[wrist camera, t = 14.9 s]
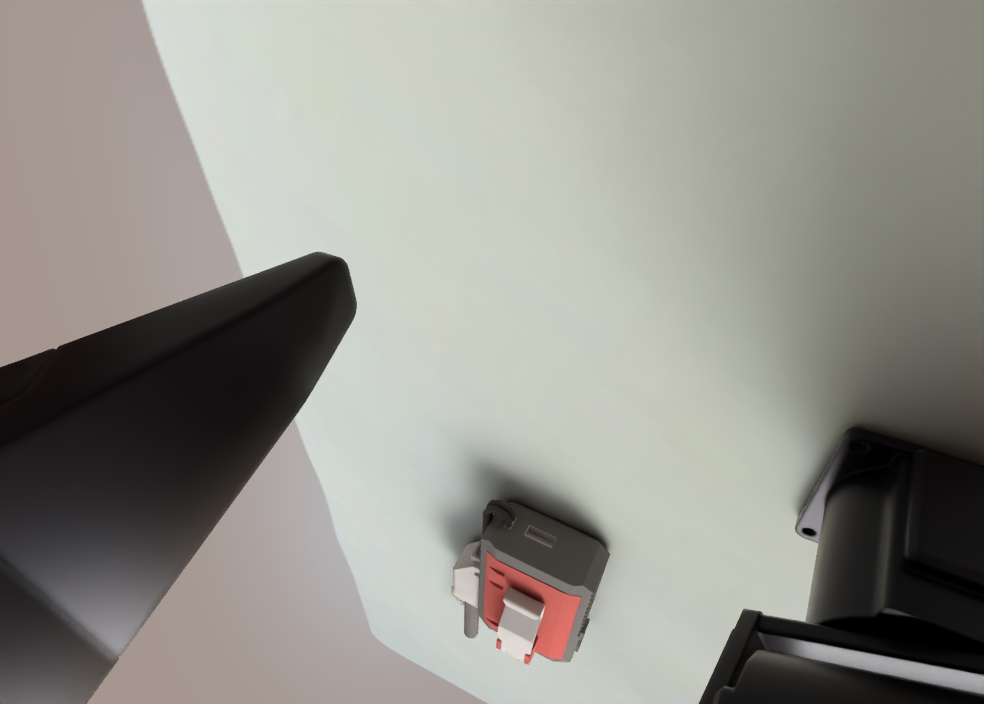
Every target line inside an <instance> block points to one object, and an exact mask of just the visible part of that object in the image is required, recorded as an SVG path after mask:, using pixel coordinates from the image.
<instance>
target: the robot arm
mask: <svg viewBox="0 0 984 704" xmlns="http://www.w3.org/2000/svg"><path fill="white" fill-rule="evenodd" d="M356 309H357V302H356V297H355V293H354V289H353V285H352V281H351V276H350V272H349V268H348V265H347V263H346V262H345V261H344V260H343V259H342V258H340V257H337V256H333V255H330V254H327V253H323V252H315V253H311V254H309V255H306V256H303V257H301V258H298V259H295V260H292V261H290V262H287V263H284V264H281V265H279V266H276V267H273V268H271V269H268V270H265V271H262V272H260V273H257V274H254V275H252V276H249V277H246V278H243V279H241V280H238V281H236V282H232V283H230V284H227V285H224V286H222V287H219V288H216V289H214V290H211V291H208V292H206V293H203V294H200V295H197V296H194V297H192V298H189V299H186V300H183V301H181V302H178V303H175V304H173V305H170V306H167V307H165V308H162V309H159V310H156V311H154V312H151V313H148V314H145V315H143V316H140V317H137V318H135V319H132V320H129V321H126V322H124V323H121V324H118V325H115V326H113V327H110V328H107V329H104V330H102V331H99V332H96V333H94V334H91V335H88V336H85V337H83V338H80V339H77V340H75V341H72V342H69V343H66V344H64V345H61V346H59V347H58V348H57V349H50V350H47V351H44V352H42V353H39V354H37V355H33V356H31V357H28V358H25V359H23V360H20V361H17V362H14V363H11V364H8V365H6V366H3V367H0V704H86V703H87V702H88V701H89V699H90V698H91V697H92V695H93V694H94V693H95V691H96V690H97V689H98V687H99V686H100V684H101V683H102V682H103V680H104V679H105V678H106V676H107V675H108V673H109V672H110V671H111V669H112V668H113V667H114V665H115V664H116V662H117V661H118V659H119V658H118V657H119V656H121V655H122V653H123V652H124V651H125V649H126V648H127V647H128V645H129V644H130V642H131V641H132V640H133V638H134V637H135V636H136V634H137V633H138V632H139V630H140V629H141V627H142V626H143V625H144V623H145V622H146V621H147V619H148V618H149V617H150V615H151V614H152V612H153V611H154V610H155V608H156V607H157V606H158V604H159V603H160V601H161V600H162V599H163V597H164V596H165V595H166V593H167V592H168V590H169V589H170V588H171V586H172V585H173V584H174V582H175V581H176V579H177V578H178V577H179V575H180V574H181V572H182V571H183V570H184V568H185V567H186V566H187V564H188V563H189V562H190V560H191V559H192V557H193V556H194V555H195V553H196V552H197V550H198V549H199V548H200V546H201V545H202V544H203V542H204V541H205V539H206V538H207V537H208V535H209V534H210V533H211V531H212V530H213V528H214V527H215V526H216V524H217V523H218V522H219V520H220V519H221V517H222V516H223V515H224V513H225V512H226V511H227V509H228V508H229V507H230V505H231V504H232V502H233V501H234V500H235V498H236V497H237V496H238V494H239V493H240V492H241V490H242V489H243V487H244V486H245V485H246V483H247V482H248V480H249V479H250V478H251V476H252V475H253V474H254V472H255V471H256V469H257V468H258V467H259V465H260V464H261V463H262V461H263V460H264V459H265V457H266V456H267V454H268V453H269V452H270V450H271V449H272V448H273V446H274V445H275V443H276V442H277V441H278V439H279V438H280V437H281V435H282V434H283V432H284V431H285V430H286V428H287V427H288V426H289V424H290V423H291V421H292V420H293V419H294V417H295V416H296V415H297V413H298V412H299V410H300V409H301V407H302V406H303V404H304V403H305V401H306V400H307V398H308V397H309V395H310V393H311V392H312V390H313V389H314V387H315V385H316V383H317V382H318V380H319V378H320V376H321V375H322V373H323V371H324V370H325V368H326V366H327V364H328V363H329V361H330V359H331V357H332V356H333V354H334V352H335V350H336V349H337V347H338V345H339V344H340V342H341V340H342V338H343V337H344V335H345V333H346V331H347V330H348V328H349V326H350V324H351V323H352V321H353V319H354V316H355V314H356ZM856 442H862V443H864V444H860V443H856ZM795 531H796V533H797V534H798V535H800V536H801V537H803V538H805V539H808V540H811V541H814V542H816V543H819V544H818V550H817V556H816V562H815V568H814V574H813V580H812V586H811V592H810V598H809V604H808V610H807V616H806V622H802V621H796V620H790V619H784V618H779V617H773V616H767V615H763V613H762V612H761V611H755V610H749V609H744V610H743V611H742V614H741V616H740V618H739V620H738V622H737V624H736V627H735V629H733V630H732V632H731V634H730V636H729V639H728V641H727V643H726V645H725V647H724V650H723V652H722V654H721V656H720V658H719V661H718V663H717V665H716V667H715V669H714V672H713V674H712V676H711V678H710V680H709V682H708V685H707V687H706V689H705V691H704V693H703V696H702V698H701V700H700V702H699V704H984V465H981V464H978V463H975V462H971V461H968V460H965V459H962V458H958V457H955V456H952V455H949V454H945V453H942V452H939V451H936V450H932V449H929V448H926V447H922V446H919V445H916V444H913V443H909V442H906V441H903V440H900V439H896V438H893V437H890V436H887V435H883V434H880V433H877V432H873V431H870V430H867V429H862V428H853V429H850V430H847V431H846V432H845V433H844V435H843V437H842V439H841V441H840V442H839V444H838V446H837V448H836V450H835V451H834V453H833V455H832V457H831V459H830V460H829V462H828V464H827V466H826V468H825V469H824V471H823V473H822V475H821V477H820V478H819V480H818V482H817V484H816V486H815V487H814V489H813V491H812V493H811V495H810V496H809V498H808V500H807V502H806V504H805V505H804V507H803V509H802V511H801V513H800V514H799V516H798V518H797V522H796V527H795Z"/></svg>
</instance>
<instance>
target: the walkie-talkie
mask: <svg viewBox="0 0 984 704" xmlns="http://www.w3.org/2000/svg"><path fill="white" fill-rule="evenodd" d="M493 513H495V514H494V516H493ZM480 540H481V541H480ZM480 540H479V541H478V542H474V543H469V544H468V545H466V546H465V548H464V550H463V552H462V553H461V555H460V557H459V558H458V560H457V562H456V564H455V565H454V567H453V586H452V595H453V596H455V597H457V598H459V599H461V600H463V601H464V602H465V614H464V633H465V635H466V636H467V637H468V638H474V637H476V636H477V634H478V621H479V616H480V618H481V619H482V620H483V621H484V623H485V624H486V625H487V626H488V627H489V628H490V629H492V630H494V631H496V632H498V634H497V643H496V648H498V649H500V650H502V651H504V652H505V653H507V654H509V655H511V656H513V657H515V658H517V659H519V660H520V661H522V662H524V663H526V664H529V663H530V661H531V659H532V657H533V655H534V652H536V653H538V654H540V655H542V656H544V657H545V658H547V659H549V660H551V661H555V662H570V661H571V659H572V656H573V654H574V651H577V652H578V649H579V647H580V644H581V642H582V639H583V637H584V634H585V631H586V628H587V626H588V623H589V620H590V619H588V618H587V617H588V615H589V612H590V609H591V606H592V603H593V600H594V598H595V595H596V592H597V589H598V586H599V583H600V581H601V578H602V575H603V572H604V569H605V566H606V564H607V561H608V558H609V555H610V554H609V553H608V551H607V550H606V549H605V548H604V547H603V545H602V544H601V543H600V542H599V541H598V540H597V539H595V538H593V537H591V536H588V535H586V534H584V533H582V532H580V531H578V530H575V529H573V528H571V527H569V526H567V525H564V524H562V523H560V522H558V521H556V520H553V519H551V518H549V517H547V516H545V515H542V514H540V513H538V512H536V511H534V510H531V509H529V508H527V507H525V506H523V505H520V504H518V503H513V502H509V503H504V502H502V501H500V500H491V501H490V502H489V503H488V505H487V507H486V509H485V510H484V512H483V531H482V537H481V539H480Z"/></svg>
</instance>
